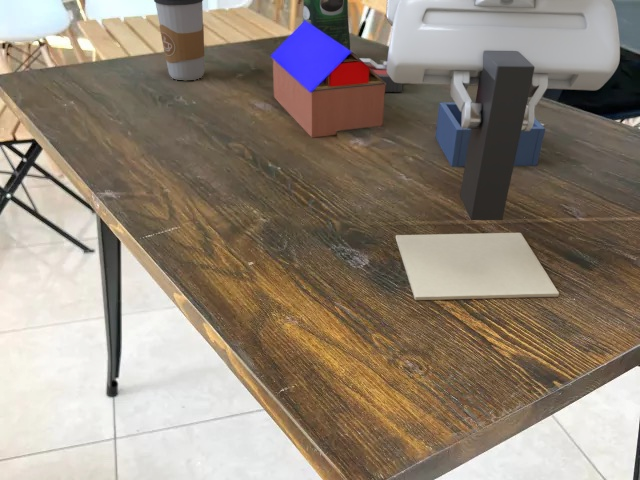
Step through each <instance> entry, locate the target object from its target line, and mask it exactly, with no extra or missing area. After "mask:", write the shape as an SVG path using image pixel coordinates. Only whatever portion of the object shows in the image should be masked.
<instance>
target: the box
mask: <svg viewBox="0 0 640 480" xmlns="http://www.w3.org/2000/svg"><path fill="white" fill-rule="evenodd" d="M472 103H475V101H472ZM437 112H438V113H437V114H438V115H437V121H436V130H435V139H436V141H437V143H438V145H439V147H440V148H441V150H442V152H443V155H444V156H445V158H446V159H447V161H448V163H449V165H450V167H451V168H461V167H463V168H465V162H466V156H467V150H468V144H469V138H470V132H471V129H462V128H461V120H462V112H460V110H459V108H458V107H457V105H456V103H455V102H454V101H453V102H450V101H449V102H439V105H438V111H437ZM545 132H546V128H545V126H544V125H543V124H541V122H540V121H539V120H538V119H537V118H536V117H535V116H534V124H533V127H532V128H531V130H530V131H521V134H520V138H519V143H518V148H517V153H516V157H515V162H514V167H529V166H530V167H531V166H532V167H533V166H535V167H536V166H538V163H539V159H540V155H541V150H542V146H543V141H544V137H545Z"/></svg>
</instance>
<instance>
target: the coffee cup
mask: <svg viewBox="0 0 640 480" xmlns="http://www.w3.org/2000/svg"><path fill="white" fill-rule="evenodd" d="M203 1H204V0H153V2H154V3H155V7H156V8H155V9H156V14H157V18H158V23H159V25H158V26H159V31H160V37H161V41H162V48H163V52H164V58H165V61H166V66H167V71H168V75H169V76H170V78H171V77H172V78H174V79H179V80H194V81H196V80H195V79H198V80H200V79H199V78H201V77H202V76H203V77H204V74H205V37H204V36H205V31H204V30H205V29H204V13H203ZM203 77H202V78H203ZM172 78H171V79H172ZM202 78H201V79H202Z"/></svg>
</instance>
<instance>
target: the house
mask: <svg viewBox="0 0 640 480" xmlns="http://www.w3.org/2000/svg"><path fill="white" fill-rule="evenodd" d="M270 57H271V60H272V77H273V98H274V99H275V100H276V101H277V102H278V103H279V104H280V106H281V107H282V108H283V109H284V111H286V112H287V113H288V114H289V115H290V116H291V117H292V118H293V120H294V121H296V123H297V124H298V125H299V126H300V127H301V128H302V129H303V130H304V131H305V132H306V134H308V136H310V138H320V137H329V136H337V135H338V132H339V131H349V130H357V129H364V128H373V127H382V126H383V125H384V124H383V123H384V111H385V98H386V97H385V95H386V92H385V85H386V82H385V81H384V80H383V79H381V78H380V77H379V76H378V75H377V74H376V73H375V72H374V71H373V70H371V69H370V68H369V67H368V66H367V65H368V64H367V63H364V62H363V61H361V60H360V59H359V57H358V56H357V55H356V54H355V53H354V52H353V51H351V49H350V50H348V49H347V48H345V47H344V46H342V45H341V44H339V43H338V42H336V41H335V40H333V39H332V38H330V37H329V36H327V35H326V34H324V33H323V32H322V31H320V30H319V29H317V28H316V27H314V26H313V25H311V24H310V23H308V22H307V21H304V22H303V21H302V23H300V24H299V26H298V27H297V28H296V29H295V30H294V31H293V32H292V33H291V34H290V35H289V36H288V37H287V38H286V39H285V40H284V41H283V42H282V43H281V44H280V45H279V46H278V48H276V49H275V51H273V52H272V54H271V55H270Z"/></svg>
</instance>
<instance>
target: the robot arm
mask: <svg viewBox="0 0 640 480" xmlns="http://www.w3.org/2000/svg"><path fill="white" fill-rule="evenodd" d="M385 16H386V20H387V22H388V24H389V25H390V26H391V31H390V37H389V43H388V50H387V52H388V53H387V60H386V61H387V74H388V75H389V76H390V78H391V79H392V80H393V81H394V82H395V83H403V84H412V85H414V84H415V85H442V86H450V87H449V90H450V91H449V95H450V97H451V99H452V101H453V102H455V103H456V105H457V107H458V108H459V110H460V112H462V120H461V128H462V129H478V128H479V125H480V123H481V114H480V113H481V110H482V103H472V102H473V100H472V98H471V97H470V95H469V92H468V87H469V86H470V87H478V83H479V77H480V71H482V70H483V53H484V51H518V52H519V53H521V54H522V55H523V56H524V57H525V58H526V59H527V60H528V61H529V62H530V63H531V64H532V65H533V66H534V67H535V68H534V73H533V77H532V82H531V87H530V91H529V96H528V98H530V99H529V100H528V102H527V105H526V110H525V115H524V120H523V124H522V129H521V131H530V130H531V128H532V127H533V124H534V117H535V109H536V107H537V105H538V104H539V102H540V101H541V99H542V97H543V95H545V93H546V91H547V90H550V89H551V90H571V91H572V90H575V91H598V90H600V89H601V88H602V87H603V86H605V84H606V83H607V82H608V81H609V80H610V79H611V78H612V76H613V75H614V74H615V73H616V71H617V69H618V67H619V64H620V59H621V46H620V45H621V44H620V32H619V23H618V16H617V11H616V7H615V5H614V2H613V0H386V9H385Z"/></svg>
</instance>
